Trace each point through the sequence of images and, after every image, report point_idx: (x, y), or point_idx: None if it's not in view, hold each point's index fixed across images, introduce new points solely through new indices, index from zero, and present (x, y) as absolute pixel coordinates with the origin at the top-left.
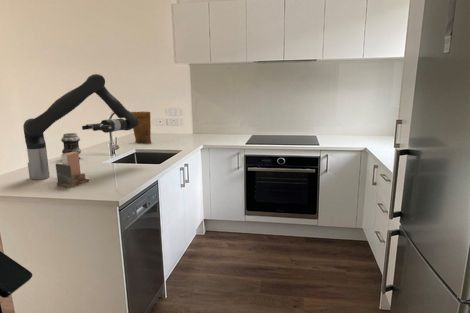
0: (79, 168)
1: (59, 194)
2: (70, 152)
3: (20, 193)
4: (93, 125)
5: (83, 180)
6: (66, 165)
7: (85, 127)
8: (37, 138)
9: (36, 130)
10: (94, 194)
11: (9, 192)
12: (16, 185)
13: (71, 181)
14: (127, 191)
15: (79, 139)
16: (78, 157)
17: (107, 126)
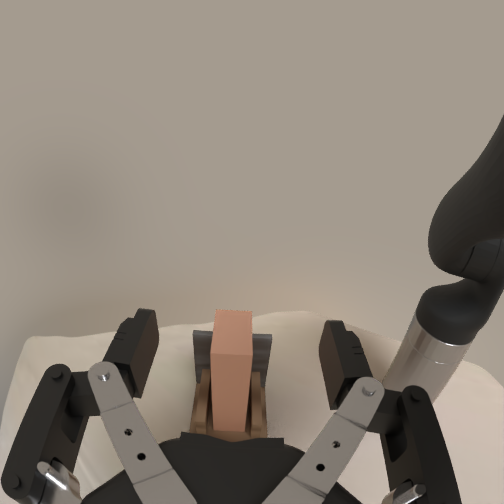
0: (212, 401)
1: (182, 341)
2: (248, 341)
3: (282, 321)
4: (408, 491)
5: (195, 424)
6: (207, 331)
7: (329, 357)
8: (467, 294)
9: (431, 236)
10: (91, 357)
11: (312, 318)
12: (362, 346)
13: (196, 374)
14: (18, 385)
15: None
16: (211, 369)
17: (28, 423)
